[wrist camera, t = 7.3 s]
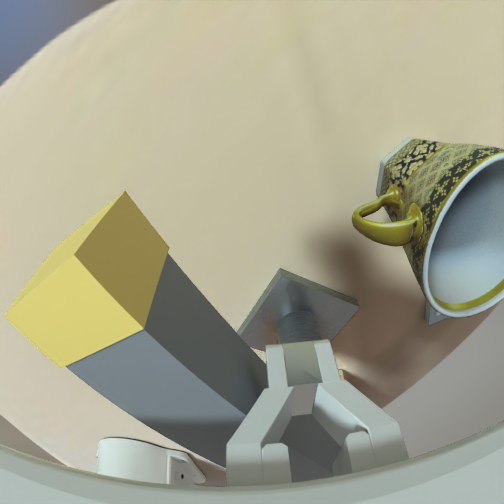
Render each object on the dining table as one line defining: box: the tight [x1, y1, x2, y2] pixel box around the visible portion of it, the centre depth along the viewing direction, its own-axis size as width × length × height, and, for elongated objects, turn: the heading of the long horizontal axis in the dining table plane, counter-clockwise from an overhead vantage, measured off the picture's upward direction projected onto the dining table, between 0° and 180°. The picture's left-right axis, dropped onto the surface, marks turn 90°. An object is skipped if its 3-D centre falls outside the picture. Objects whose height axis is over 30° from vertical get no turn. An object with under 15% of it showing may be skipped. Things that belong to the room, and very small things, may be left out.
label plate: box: [425, 299, 448, 325], centre depth 27 cm, size 6×4×1 cm, turn 18°
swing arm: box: [4, 191, 341, 483], centre depth 11 cm, size 20×4×3 cm, turn 30°
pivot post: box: [237, 269, 360, 352], centre depth 22 cm, size 8×8×12 cm
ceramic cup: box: [352, 138, 504, 318], centre depth 17 cm, size 13×10×10 cm
